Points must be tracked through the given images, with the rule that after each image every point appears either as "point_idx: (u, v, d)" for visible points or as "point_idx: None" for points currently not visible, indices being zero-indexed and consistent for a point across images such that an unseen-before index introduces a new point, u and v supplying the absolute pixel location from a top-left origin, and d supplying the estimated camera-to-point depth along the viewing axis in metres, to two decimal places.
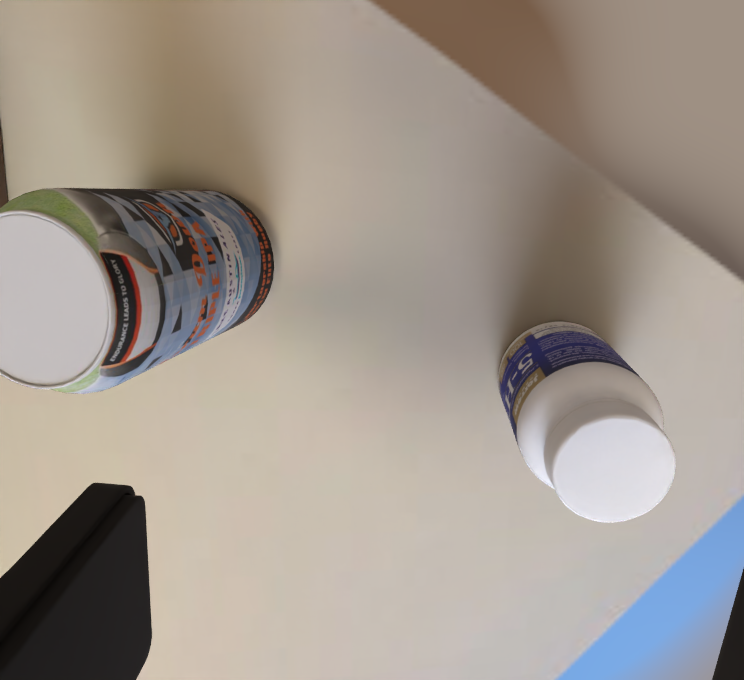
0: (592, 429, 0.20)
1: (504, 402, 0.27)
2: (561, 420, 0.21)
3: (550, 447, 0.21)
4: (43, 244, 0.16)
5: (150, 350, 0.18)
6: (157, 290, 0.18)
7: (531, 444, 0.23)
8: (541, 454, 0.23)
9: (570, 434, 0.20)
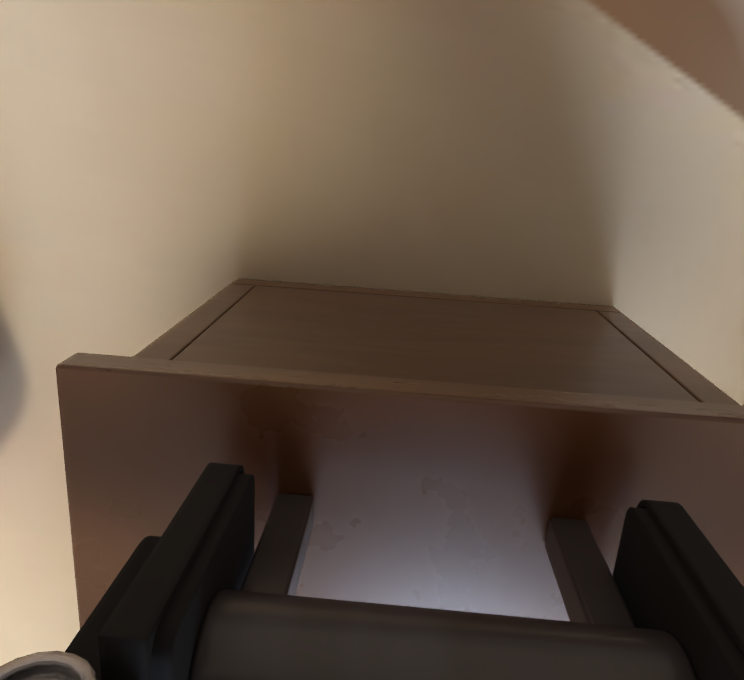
0: None
1: None
2: None
3: None
4: None
5: None
6: None
7: None
8: None
9: None
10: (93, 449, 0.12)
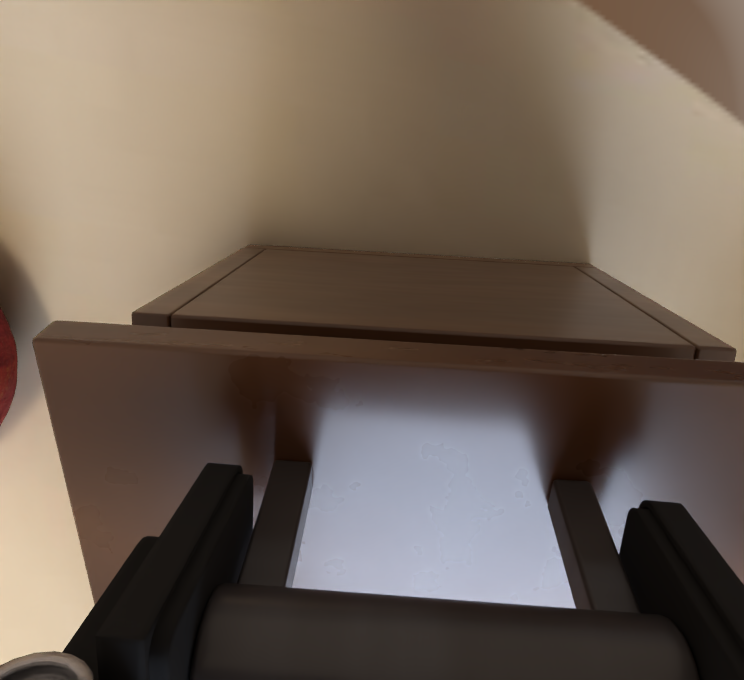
0: None
1: None
2: None
3: None
4: None
5: None
6: None
7: None
8: None
9: None
10: (82, 421, 0.11)
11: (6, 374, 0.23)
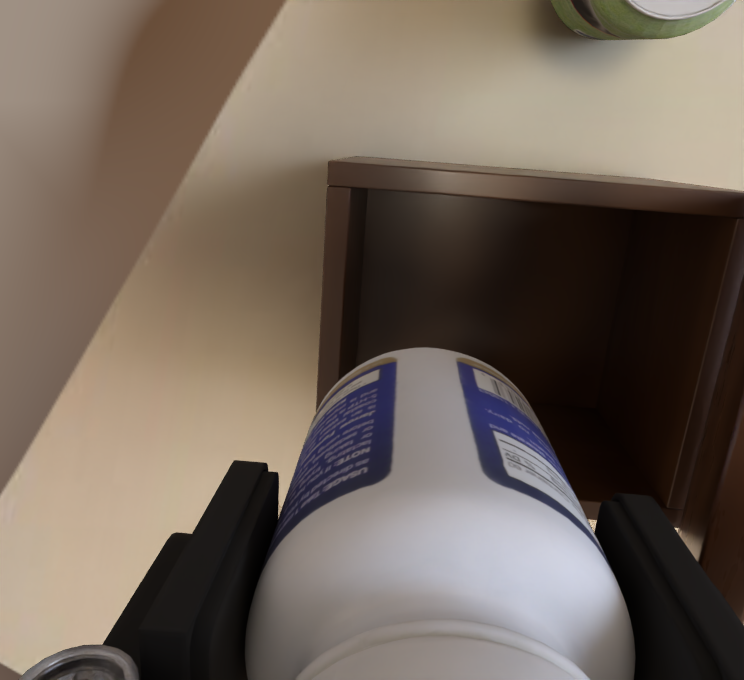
0: None
1: None
2: None
3: None
4: None
5: None
6: None
7: None
8: None
9: None
10: None
11: None
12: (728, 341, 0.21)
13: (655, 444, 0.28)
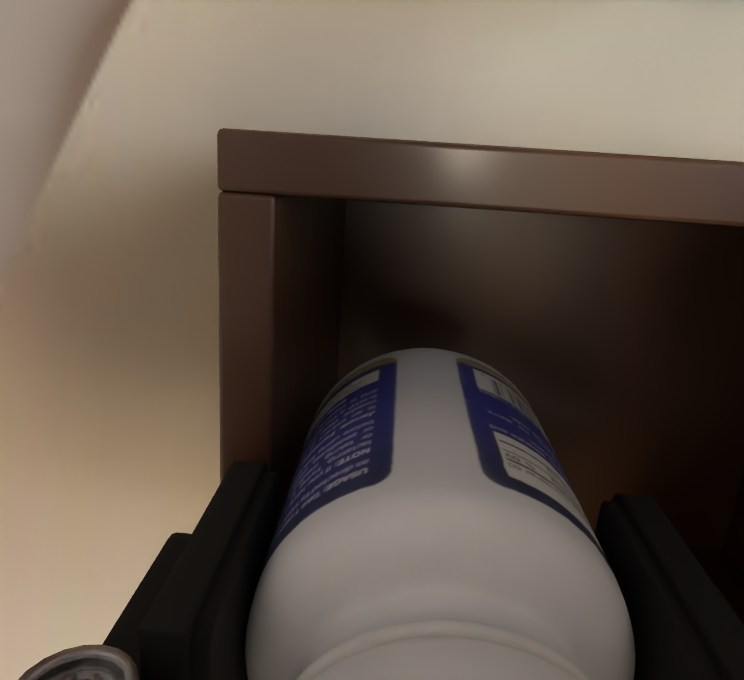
0: None
1: None
2: None
3: None
4: None
5: None
6: None
7: None
8: None
9: None
10: None
11: None
12: None
13: None
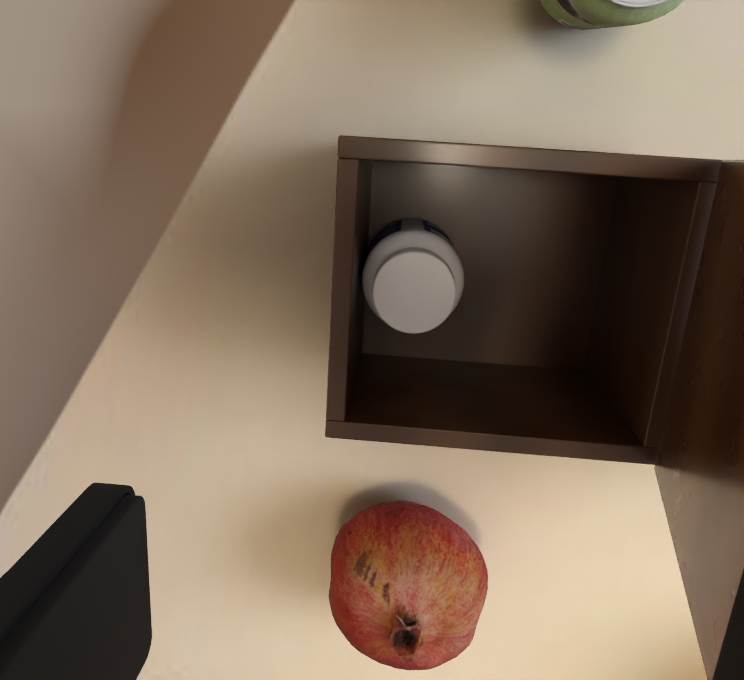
0: (383, 310, 0.30)
1: None
2: None
3: None
4: None
5: None
6: None
7: None
8: None
9: None
10: None
11: (409, 508, 0.39)
12: (710, 289, 0.23)
13: (634, 392, 0.31)
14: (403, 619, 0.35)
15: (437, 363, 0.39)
